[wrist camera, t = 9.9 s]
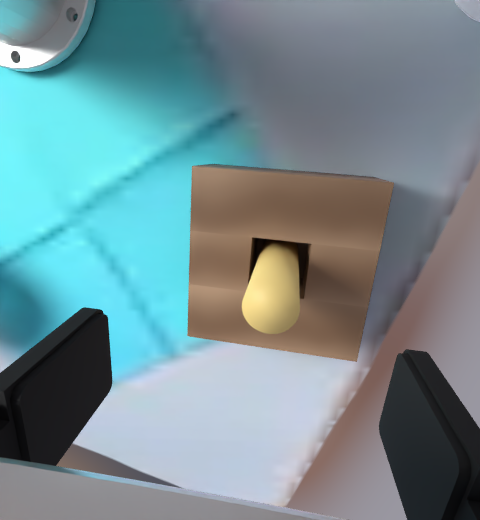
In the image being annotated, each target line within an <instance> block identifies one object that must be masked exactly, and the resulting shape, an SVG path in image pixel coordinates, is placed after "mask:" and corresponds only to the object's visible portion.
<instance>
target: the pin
mask: <svg viewBox="0 0 480 520" xmlns="http://www.w3.org/2000/svg"><path fill="white" fill-rule="evenodd" d="M242 312H243V315H244V318H245V319H246V321H247V322H248V323H249V325H250V326H252V327H253V328H254V329H256V330H258V331H260V332H262V333H266V334H278V333H282V332H285V331H286V330H288V329H290V328H291V327H292V326H293V325H294V324H295V323H296V321H297V319H298V317H299V313H300V295H299V253H298V247H297V244H296V243H295V242H291V241H282V240H273V239H267V240H266V241H265V243H264V244H263V247H262V249H261V252H260V255H259V257H258V260H257V263H256V265H255V268H254V271H253V273H252V276H251V279H250V281H249V284H248V287H247V289H246V292H245V295H244V298H243V301H242Z"/></svg>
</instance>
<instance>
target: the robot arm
mask: <svg viewBox="0 0 480 520" xmlns="http://www.w3.org/2000/svg"><path fill="white" fill-rule="evenodd" d="M95 1H96V0H0V66H2V67H5V68H8V69H12V70H15V71H24V72H35V71H42V70H46V69H48V68H51V67H53V66H56V65H57V64H59V63H60V62H62V61H63V60H65V59H66V58H67V57H69V56H70V54H71V53H72V52H73V51H74V50H75V49H76V48H77V47H78V45H79V44H80V42H81V40H82V39H83V37H84V35H85V34H86V32H87V30H88V27H89V24H90V21H91V19H92V16H93V12H94V7H95ZM111 386H112V370H111V356H110V341H109V327H108V317H107V315H105V314H104V313H103V311H102V310H100V309H92V308H82V309H80V310H79V311H78V312H77V313H75V314H74V315H73V316H72V317H70V318H69V319H68V320H67V321H65V322H64V323H63V324H62V325H60V326H59V327H58V328H56V329H55V330H54V331H53V332H51V333H50V334H49V335H48V336H46V337H45V338H44V339H43V340H41V341H40V342H39V343H37V344H36V345H35V346H34V347H32V348H31V349H30V350H29V351H27V352H26V353H25V354H24V355H22V356H21V357H20V358H19V359H17V360H16V361H15V362H13V363H12V364H11V365H10V366H8V367H7V368H6V369H5V370H3V371H2V372H1V373H0V520H348V519H342V518H337V517H332V516H327V515H321V514H316V513H311V512H306V511H300V510H295V509H289V508H285V507H279V506H274V505H269V504H264V503H258V502H253V501H247V500H242V499H236V498H231V497H226V496H220V495H215V494H209V493H204V492H198V491H193V490H187V489H182V488H176V487H171V486H165V485H160V484H154V483H149V482H143V481H138V480H132V479H127V478H121V477H115V476H110V475H103V474H97V473H93V472H86V471H81V470H76V469H69V468H64V467H59V466H56V465H57V463H58V462H59V461H60V459H61V458H62V457H63V455H64V454H65V452H66V451H67V450H68V448H69V447H70V446H71V444H72V443H73V441H74V440H75V439H76V437H77V436H78V434H79V433H80V432H81V430H82V429H83V428H84V426H85V425H86V423H87V422H88V421H89V419H90V418H91V417H92V415H93V414H94V412H95V411H96V410H97V408H98V407H99V405H100V404H101V403H102V401H103V400H104V399H105V397H106V396H107V394H108V393H109V391H110V389H111ZM379 430H380V436H381V439H382V442H383V445H384V449H385V451H386V455H387V458H388V461H389V464H390V467H391V470H392V473H393V477H394V480H395V483H396V486H397V489H398V492H399V495H400V498H401V501H402V505H403V508H404V511H405V514H406V517H407V520H480V428H479V427H478V426H477V424H476V423H475V421H474V420H473V418H472V417H471V415H470V414H469V412H468V411H467V409H466V408H465V407H464V405H463V404H462V402H461V401H460V399H459V398H458V396H457V395H456V393H455V392H454V390H453V389H452V387H451V386H450V385H449V383H448V382H447V380H446V379H445V378H444V376H443V374H442V373H441V371H440V370H439V368H438V367H437V365H436V364H435V362H434V361H433V359H432V358H431V357H430V355H429V354H428V353H427V352H423V351H415V350H405V351H404V353H403V354H401V353H400V354H398V355H397V358H396V362H395V365H394V369H393V373H392V377H391V381H390V384H389V388H388V392H387V396H386V400H385V403H384V407H383V411H382V415H381V419H380V423H379Z"/></svg>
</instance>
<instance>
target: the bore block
mask: <svg viewBox="0 0 480 520" xmlns="http://www.w3.org/2000/svg"><path fill="white" fill-rule="evenodd" d="M393 186H394V183H393V182H389V181H386V180H382V179H379V178H375V177H367V176H354V175H342V174H330V173H317V172H305V171H293V170H281V169H268V168H256V167H244V166H232V165H219V164H208V165H198V166H192V188H191V225H190V263H189V300H188V336H190V337H197V338H203V339H210V340H217V341H223V342H230V343H237V344H243V345H250V346H256V347H263V348H270V349H276V350H283V351H289V352H296V353H303V354H309V355H316V356H322V357H329V358H336V359H342V360H349V361H355V362H357V358H358V353H359V348H360V344H361V339H362V334H363V329H364V324H365V320H366V315H367V310H368V305H369V301H370V296H371V291H372V286H373V281H374V277H375V272H376V267H377V262H378V258H379V253H380V248H381V243H382V239H383V234H384V229H385V224H386V219H387V215H388V210H389V205H390V200H391V196H392V191H393ZM267 239H273V240H282V241H291V242H295V243H296V244H297V247H298V253H299V295H300V313H299V317H298V319H297V321H296V323H295V324H294V325H293V326H292V327H291V328H290V329H288V330H286V331H285V332H282V333H278V334H266V333H262V332H260V331H258V330H256V329H254V328H253V327H252V326H250V325H249V323H248V322H247V321H246V319H245V318H244V315H243V312H242V301H243V298H244V295H245V292H246V289H247V287H248V284H249V281H250V279H251V276H252V273H253V271H254V268H255V265H256V263H257V260H258V257H259V255H260V252H261V249H262V247H263V244H264V243H265V241H266V240H267Z"/></svg>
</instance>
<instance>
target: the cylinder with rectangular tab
mask: <svg viewBox="0 0 480 520" xmlns="http://www.w3.org/2000/svg"><path fill="white" fill-rule="evenodd" d="M454 1H455V3H456V5H457V6H458V7H459V8H460V9H461V10H462V11H463V12H464V13H465V14H467V15H468V16H469V17H470V18H471V19H473V20H476V21H478V22H480V0H454Z"/></svg>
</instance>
